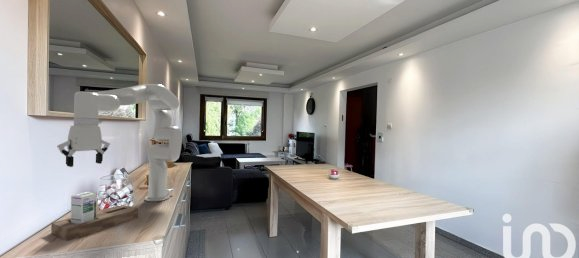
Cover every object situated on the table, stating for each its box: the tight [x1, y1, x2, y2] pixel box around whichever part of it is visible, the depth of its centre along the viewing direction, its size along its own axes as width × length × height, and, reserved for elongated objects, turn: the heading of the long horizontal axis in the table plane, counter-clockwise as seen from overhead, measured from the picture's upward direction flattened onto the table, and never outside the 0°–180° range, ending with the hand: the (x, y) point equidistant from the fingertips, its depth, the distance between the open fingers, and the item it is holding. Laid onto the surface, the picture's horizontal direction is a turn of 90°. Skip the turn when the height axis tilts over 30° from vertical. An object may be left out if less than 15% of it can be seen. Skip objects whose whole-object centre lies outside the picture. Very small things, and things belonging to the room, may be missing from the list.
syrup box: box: [70, 191, 97, 225], centre depth 97 cm, size 6×6×14 cm
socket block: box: [50, 204, 139, 241], centre depth 102 cm, size 12×26×4 cm, turn 155°
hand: (85, 164), depth 97 cm, fingers open, 9 cm apart
